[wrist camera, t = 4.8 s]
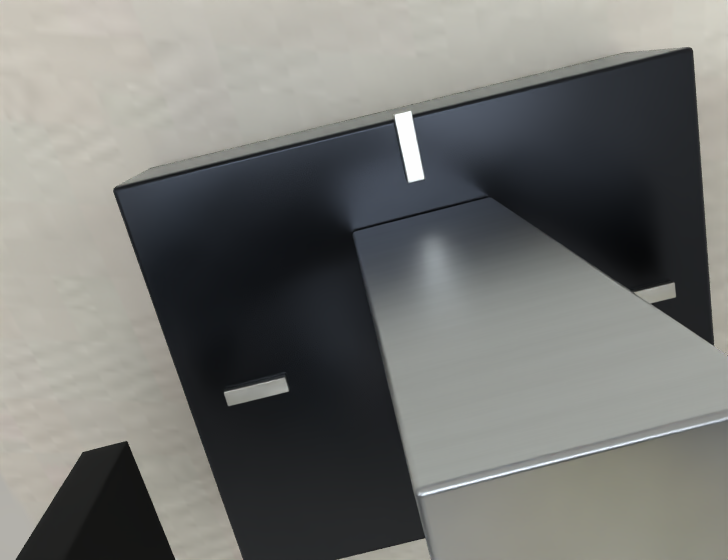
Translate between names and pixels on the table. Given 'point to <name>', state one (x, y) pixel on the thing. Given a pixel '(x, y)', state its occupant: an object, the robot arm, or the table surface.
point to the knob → (543, 397)
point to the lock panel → (345, 282)
